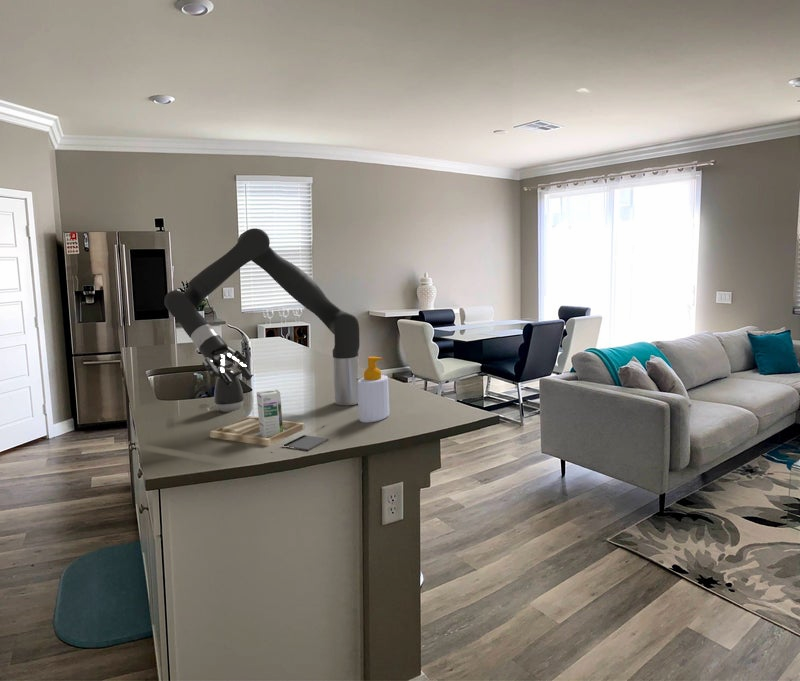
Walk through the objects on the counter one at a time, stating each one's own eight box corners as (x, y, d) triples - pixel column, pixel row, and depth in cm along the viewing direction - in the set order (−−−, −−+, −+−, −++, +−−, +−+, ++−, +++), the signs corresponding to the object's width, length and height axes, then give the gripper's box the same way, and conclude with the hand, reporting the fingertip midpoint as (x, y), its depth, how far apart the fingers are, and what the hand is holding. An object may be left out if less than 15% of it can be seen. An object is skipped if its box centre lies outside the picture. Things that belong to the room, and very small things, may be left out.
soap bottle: (373, 424, 183) (370, 361, 180) (352, 421, 187) (349, 359, 184) (395, 414, 194) (393, 354, 191) (375, 411, 198) (373, 353, 195)
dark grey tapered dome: (236, 414, 201) (233, 371, 198) (209, 414, 203) (205, 371, 200) (250, 407, 210) (247, 366, 208) (224, 406, 213) (220, 365, 210)
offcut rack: (210, 441, 172) (209, 431, 172) (249, 425, 187) (249, 416, 187) (268, 450, 162) (268, 439, 162) (305, 432, 177) (304, 423, 177)
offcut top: (222, 434, 174) (222, 427, 174) (250, 424, 183) (249, 418, 183) (237, 437, 171) (237, 430, 170) (264, 427, 180) (264, 421, 179)
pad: (279, 446, 165) (279, 444, 165) (300, 436, 174) (300, 434, 173) (308, 450, 160) (308, 449, 160) (328, 440, 169) (328, 438, 169)
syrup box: (264, 443, 168) (261, 394, 166) (259, 437, 174) (256, 390, 171) (283, 439, 171) (280, 391, 169) (278, 434, 176) (275, 388, 174)
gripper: (197, 337, 170) (229, 378, 167) (231, 331, 183) (262, 368, 179) (185, 354, 173) (217, 394, 170) (220, 347, 186) (250, 384, 183)
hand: (240, 381), depth 175 cm, fingers open, 8 cm apart
